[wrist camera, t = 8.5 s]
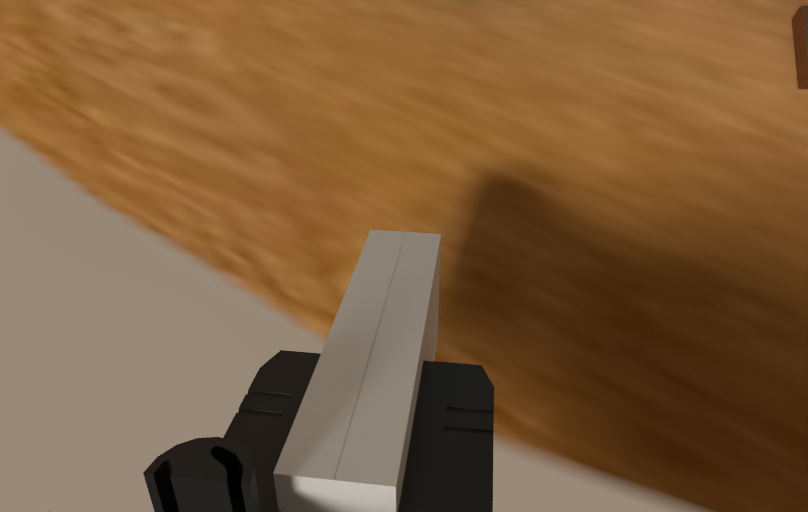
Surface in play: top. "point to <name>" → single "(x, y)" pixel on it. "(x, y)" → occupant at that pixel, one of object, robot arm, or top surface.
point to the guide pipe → (801, 45)
